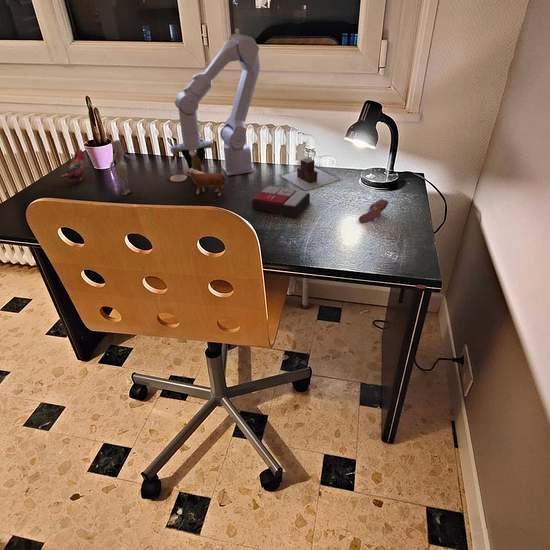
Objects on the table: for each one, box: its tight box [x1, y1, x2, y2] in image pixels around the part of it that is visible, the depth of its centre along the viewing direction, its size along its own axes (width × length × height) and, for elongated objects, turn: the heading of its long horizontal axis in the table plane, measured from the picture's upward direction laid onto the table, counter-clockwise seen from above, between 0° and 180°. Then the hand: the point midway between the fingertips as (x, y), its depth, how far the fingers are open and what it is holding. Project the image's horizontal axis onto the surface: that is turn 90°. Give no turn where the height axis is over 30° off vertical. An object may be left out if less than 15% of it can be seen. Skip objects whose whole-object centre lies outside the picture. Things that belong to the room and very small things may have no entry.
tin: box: [189, 150, 203, 172], centre depth 147 cm, size 15×3×8 cm, turn 19°
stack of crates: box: [280, 157, 340, 191], centre depth 147 cm, size 15×15×7 cm
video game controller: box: [358, 198, 389, 224], centre depth 123 cm, size 10×5×7 cm, turn 148°
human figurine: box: [107, 139, 136, 196], centre depth 135 cm, size 12×4×18 cm, turn 155°
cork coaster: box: [169, 174, 188, 183], centre depth 150 cm, size 6×6×1 cm
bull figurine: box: [186, 168, 226, 197], centre depth 138 cm, size 4×13×8 cm, turn 73°
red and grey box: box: [251, 185, 311, 219], centre depth 131 cm, size 11×4×15 cm
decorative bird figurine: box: [59, 148, 86, 184], centre depth 145 cm, size 3×18×10 cm, turn 174°
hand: (195, 170), depth 148 cm, fingers closed on tin, 2 cm apart
